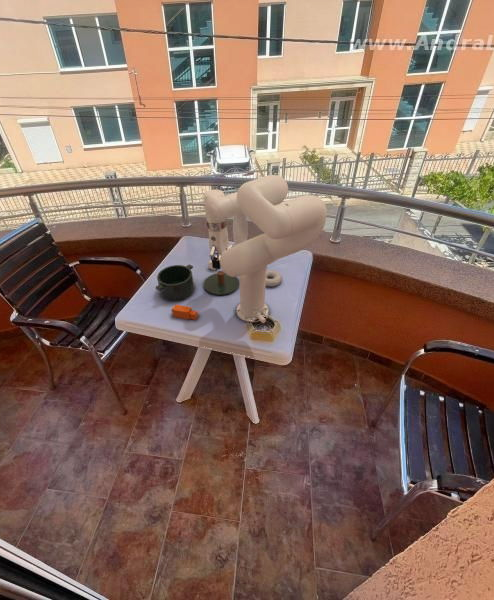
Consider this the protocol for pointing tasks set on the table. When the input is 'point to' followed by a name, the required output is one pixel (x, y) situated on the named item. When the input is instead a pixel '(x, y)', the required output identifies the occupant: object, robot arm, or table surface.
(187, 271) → the pot
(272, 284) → the donut
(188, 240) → the table surface
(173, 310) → the orange bottle
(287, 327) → the table surface
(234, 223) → the grater
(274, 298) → the table surface
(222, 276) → the pot lid
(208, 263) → the unicorn horn
